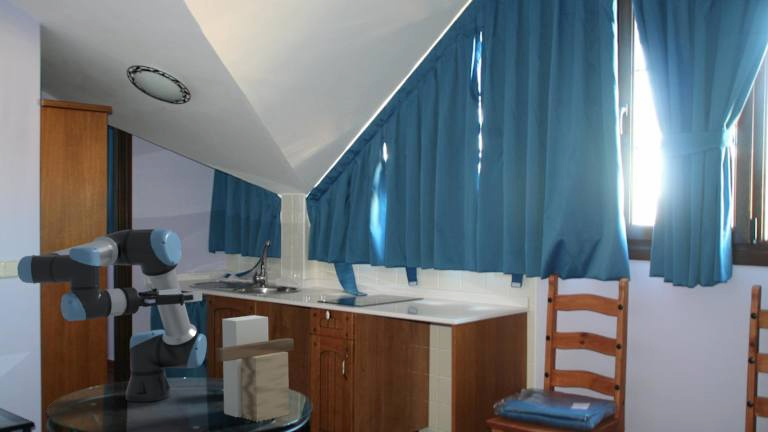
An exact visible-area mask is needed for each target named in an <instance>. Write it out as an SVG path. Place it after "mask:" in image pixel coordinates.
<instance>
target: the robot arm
mask: <svg viewBox="0 0 768 432" xmlns="http://www.w3.org/2000/svg"><path fill="white" fill-rule="evenodd" d="M182 253H183V252H182V243H181V240H180V237H179V236H178V235H177V233H176V232H174V231H173V230H171V229H169V228H168V229H167V228H153V229H151V228H147V229H144V228H143V229H142V228H141V229H123V230H120V231H119V230H118V231H115V232H112V233H108V234H105V235H101V236H98V237H96V238H93V240H92V241H90V242H87V243H84V244H83V243H82V244H80V245H76V246H72V247H68V248H65V249H60V250H57V251H52V252H49V253H44V254H40V255H39V254H38V255H35V254H33V255H25V256H23V257H22V258H20V259H19V261H18V264H17V275H18V276H17V277H18V278H19V279H20V281H21V282H23V283H26V284H35V285H36V284H54V283H55V284H56V283H57V284H61V283H62V284H63V283H64V284H66V283H67V284H70V286H69V287H70V288H69V290H70V292H68V293H65V294H63V295H62V296H61V299H60V300H61V302H60V310H61V314H62V317H63V318H64V319H65V320H66V321H68V322H77V321H88V320H94V319H95V320H96V319H102V318H109V319H110V320H112V319H114V317H117V316H122V315H123V316H128V315H129V316H130V315H134V314H136V313H137V312H138V311H139V309H140V307H142V308H148V307H151V306H154V307H155V306H156V307H157V309H158V312H159V315H160V318H161V322H162V325H163V328H164V329H153V330H148V331H147V330H146V331H143V332H138V333H135V334H132V335H131V337H130V339H129V340H130V341H129V353H130V354H129V359H130V361H129V362H130V363H129V364H130V365H129V367H130V378H129V382H128V384H127V388H126V390H125V400H126V401H128V402H132V403H148V402H155V401H156V402H157V401H161V400H166V399H167V398H169V397H171V393H172V389H171V386H170V384H169V383H170V382H169V381H168V379H167V375H166V369H167V368H169V369H171V368H172V369H192V368H195V369H196V368H199V367H200V366H201V365H202V364H203V362H204V361H205V359H206V358H205V357H206V354H207V345H208V341H207V337H206V335H205V334H204V333H198V330H197V327H196V326H195V325H194V324H192V323H191V322H190V318H189V315H188V311H187V308H186V303H193V302H201V301H203V291H201V290H198V291H190V292H182V290H181V285H180V282H179V279H178V275H177V271H176V269H177V267H178V266H179V262H180V261H181V258H182V256H183V255H182ZM109 266H140V269H141V271H142V274H143V276H146V277H148V279H149V282H150V285H151V286H150V287H151V288H152V290H148V291H140V292H138V290H137V289H136V288H135V287H122V288H109V289H102V288H101V267H109ZM101 289H102V290H101Z"/></svg>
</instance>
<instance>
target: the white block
mask: <svg viewBox="0 0 768 432" xmlns="http://www.w3.org/2000/svg"><path fill="white" fill-rule="evenodd" d="M221 320H222V321H221V322H222V348H224V347H231V346H237V345H244V344H250V343H257V342H264V341H270V340H269V317H268V316H263V315H255V314H253V315H252V314H251V315H246V316H239V317H228V318H222V319H221ZM222 372H223V374H222V375H223V413H224V414H225V415H227V416H232V417H235V418H237V417H239V418H243V417H242V366H241V359H237V360H231V361H225V362H223V365H222Z"/></svg>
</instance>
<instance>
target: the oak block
mask: <svg viewBox="0 0 768 432" xmlns="http://www.w3.org/2000/svg"><path fill="white" fill-rule="evenodd" d="M241 366H242V417H241V418H242V419H245V418H246V420H248V419H249V421H251V420H252V421H251V422H255V421H256V422H255V423H259V422H258V421H260V422H264V421H263V420H265V421H268V419H269V420H273V419H276V417H277V418H281V417H284V416H288V415H289V416H290V397H289V396H290V393H289V391H290V389H289V387H290V385H289V383H290V382H289V351H284V352H278V353H272V354H266V355H260V356H254V357H248V358H243V359H241ZM280 416H281V417H280ZM272 418H273V419H272Z"/></svg>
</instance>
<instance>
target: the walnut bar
mask: <svg viewBox="0 0 768 432" xmlns="http://www.w3.org/2000/svg"><path fill="white" fill-rule="evenodd" d="M294 343H295V342H294V338H289V337H284V338H278V339H272V340H269V341H264V342H257V343H250V344H244V345H237V346H231V347H224V348H223V347H219V348H216V361H217V362H225V361H231V360H237V359H243V358H248V357H254V356H260V355H266V354H272V353H278V352H290V351H294V349H295V348H294V347H295V344H294Z"/></svg>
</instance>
